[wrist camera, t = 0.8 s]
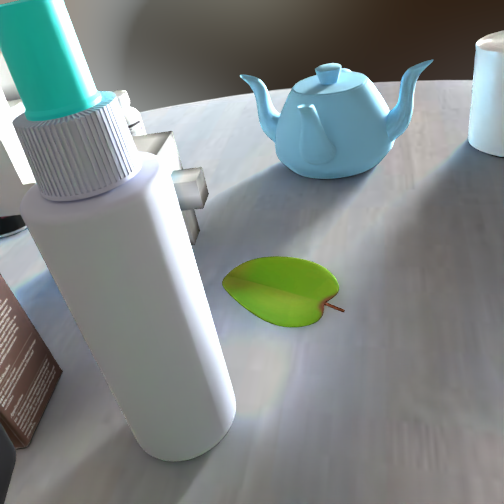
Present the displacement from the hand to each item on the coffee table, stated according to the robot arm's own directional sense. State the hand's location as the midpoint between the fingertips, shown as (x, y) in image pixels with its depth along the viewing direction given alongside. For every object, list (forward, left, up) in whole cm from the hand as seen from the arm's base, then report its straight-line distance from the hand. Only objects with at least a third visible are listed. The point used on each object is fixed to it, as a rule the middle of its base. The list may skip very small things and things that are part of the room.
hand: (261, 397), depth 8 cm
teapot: (+45, 0, -16) cm, 48 cm away
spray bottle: (+11, +8, -16) cm, 22 cm away
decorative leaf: (+22, +4, -16) cm, 28 cm away
